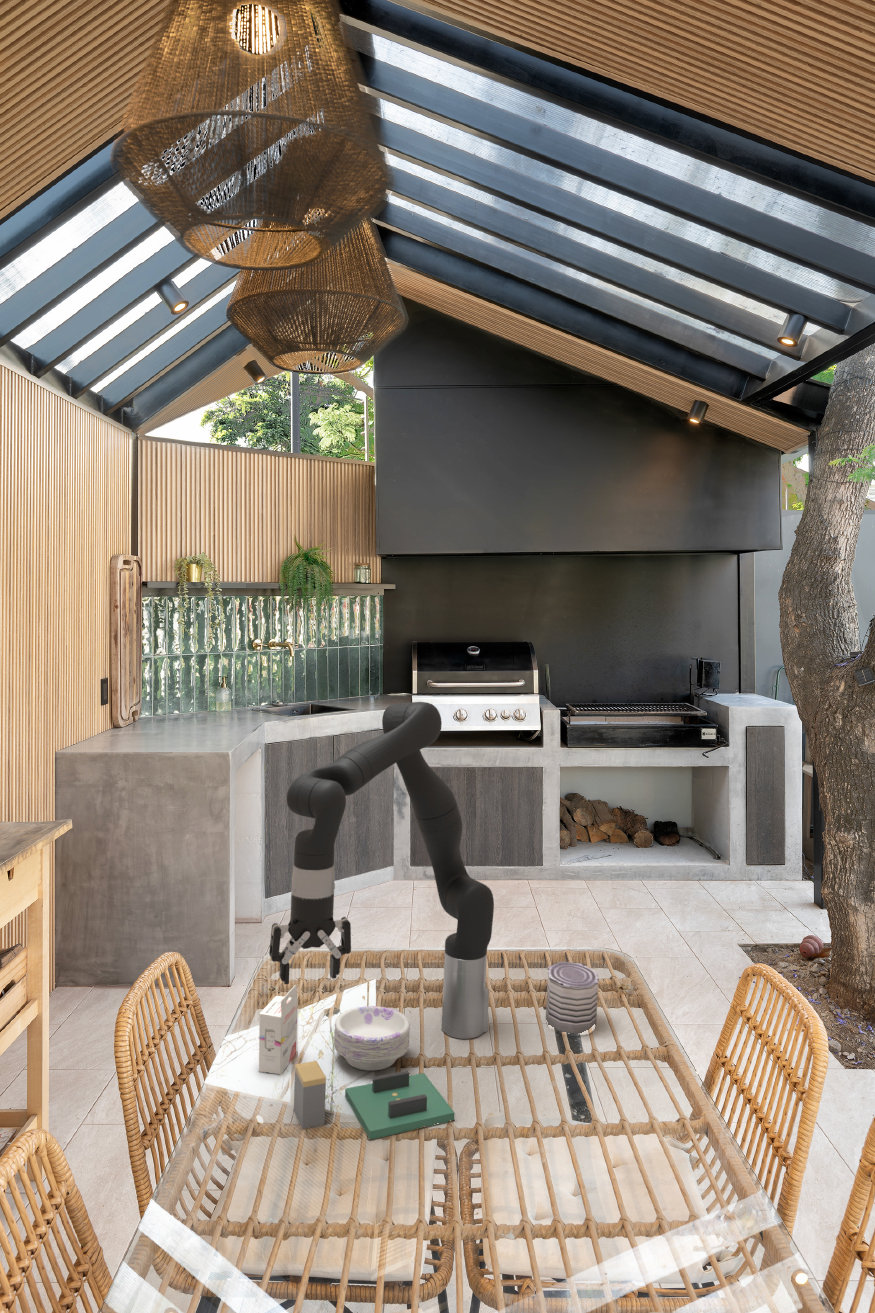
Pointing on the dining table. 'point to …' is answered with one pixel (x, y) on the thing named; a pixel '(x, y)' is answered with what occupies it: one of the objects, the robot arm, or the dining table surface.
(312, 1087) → the block
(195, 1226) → the dining table surface
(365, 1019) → the paper bowls
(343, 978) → the dining table surface
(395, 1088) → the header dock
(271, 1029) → the ink cartridge box
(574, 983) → the can
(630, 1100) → the dining table surface
